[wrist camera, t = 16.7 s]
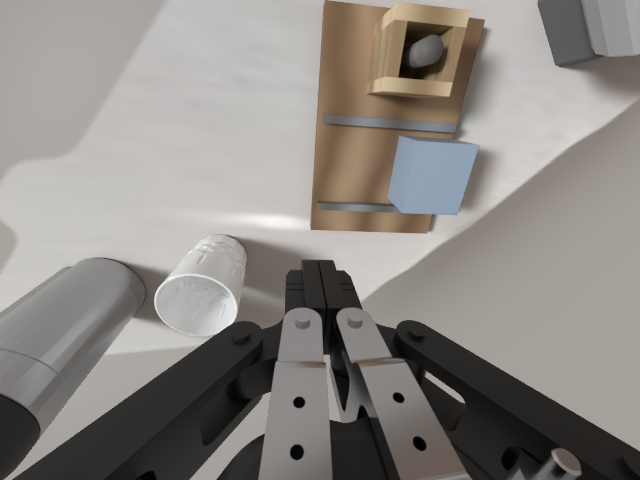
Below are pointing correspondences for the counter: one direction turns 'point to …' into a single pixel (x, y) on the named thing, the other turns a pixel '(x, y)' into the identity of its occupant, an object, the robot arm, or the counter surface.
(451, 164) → the block
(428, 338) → the robot arm
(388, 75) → the collar
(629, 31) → the alarm clock
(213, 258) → the white cup
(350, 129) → the jig board
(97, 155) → the counter surface
